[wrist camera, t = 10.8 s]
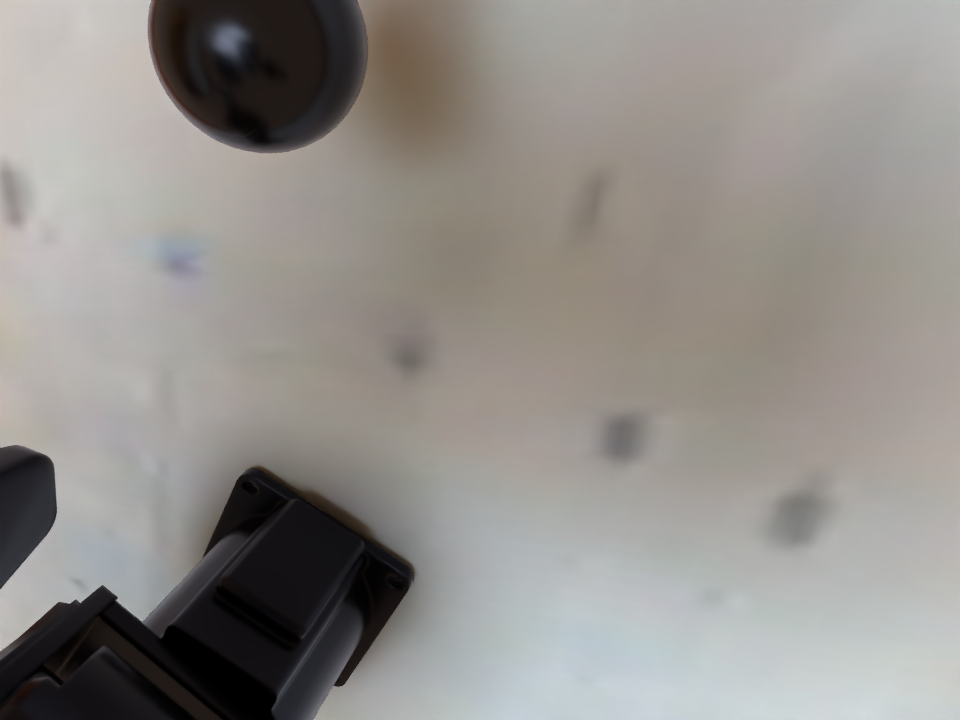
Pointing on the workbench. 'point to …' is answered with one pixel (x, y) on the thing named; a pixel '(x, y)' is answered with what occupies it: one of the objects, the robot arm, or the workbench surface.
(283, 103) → the lever
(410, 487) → the workbench surface
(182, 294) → the workbench surface
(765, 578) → the workbench surface
